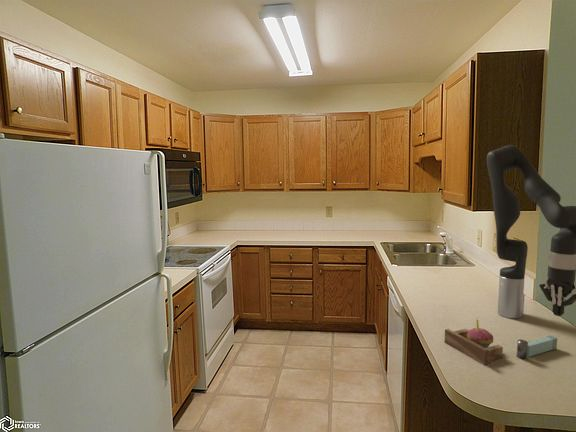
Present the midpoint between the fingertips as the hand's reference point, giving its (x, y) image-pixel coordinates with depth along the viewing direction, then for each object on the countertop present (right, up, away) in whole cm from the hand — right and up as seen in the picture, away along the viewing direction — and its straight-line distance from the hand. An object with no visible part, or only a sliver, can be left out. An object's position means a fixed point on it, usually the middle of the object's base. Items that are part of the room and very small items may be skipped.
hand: (557, 315), depth 126 cm
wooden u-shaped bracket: (-26, -14, +6) cm, 30 cm away
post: (-12, -15, +1) cm, 19 cm away
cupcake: (-23, -14, +7) cm, 28 cm away
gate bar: (-3, -14, +4) cm, 15 cm away
